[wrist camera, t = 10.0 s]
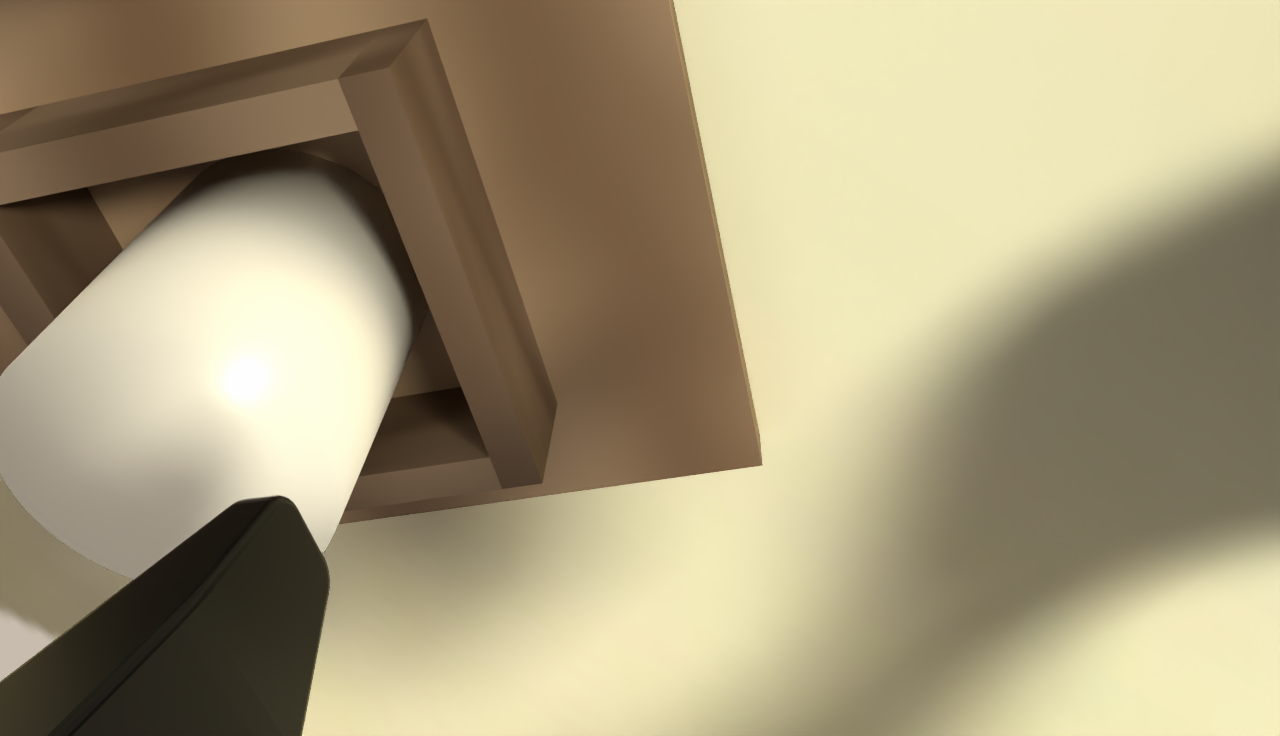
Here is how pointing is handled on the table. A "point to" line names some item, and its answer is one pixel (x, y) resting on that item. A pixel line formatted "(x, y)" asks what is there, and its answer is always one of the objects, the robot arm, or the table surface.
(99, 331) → the cream cylinder
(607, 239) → the socket board
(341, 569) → the table surface
